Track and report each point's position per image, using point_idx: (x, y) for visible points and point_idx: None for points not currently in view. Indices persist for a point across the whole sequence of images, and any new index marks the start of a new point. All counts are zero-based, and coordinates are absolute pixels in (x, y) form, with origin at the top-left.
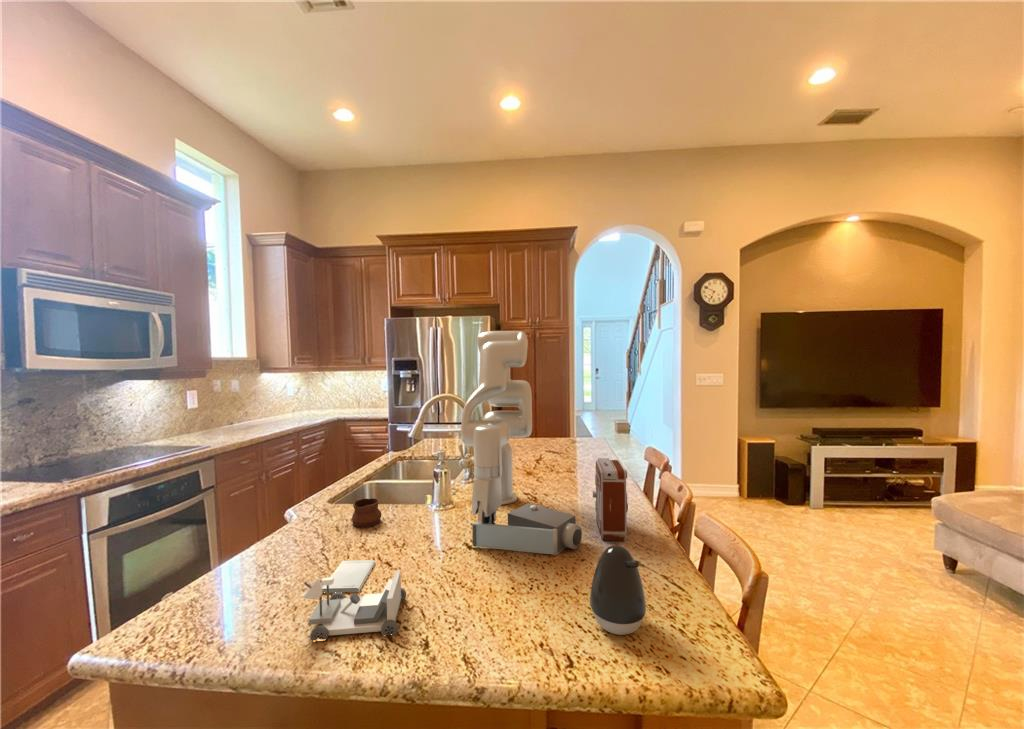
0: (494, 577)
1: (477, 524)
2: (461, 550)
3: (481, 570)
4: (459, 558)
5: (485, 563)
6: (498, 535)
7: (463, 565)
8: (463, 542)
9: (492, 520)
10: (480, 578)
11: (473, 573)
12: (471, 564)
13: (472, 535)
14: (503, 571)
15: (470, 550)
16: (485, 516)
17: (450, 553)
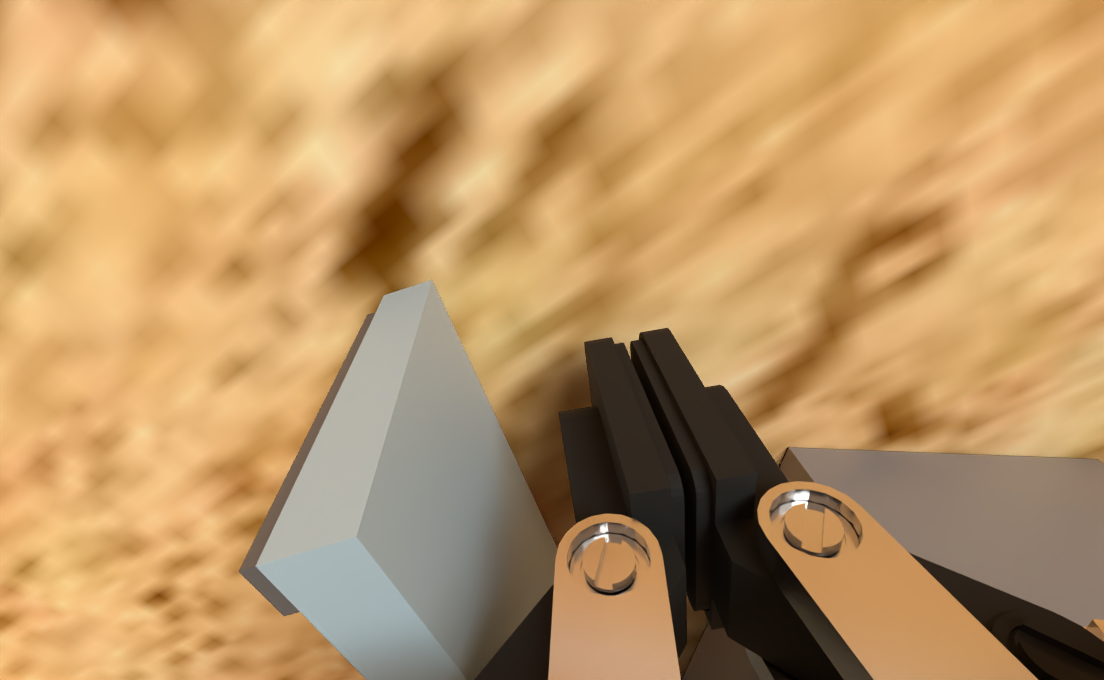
0: (153, 674)
1: (339, 640)
2: (234, 197)
3: (132, 584)
4: (74, 313)
5: (243, 549)
6: None
7: (27, 438)
8: (443, 46)
9: (750, 637)
10: (47, 632)
11: (36, 569)
12: (118, 481)
13: (347, 375)
14: (264, 671)
15: (325, 298)
16: (804, 591)
17: (32, 109)
